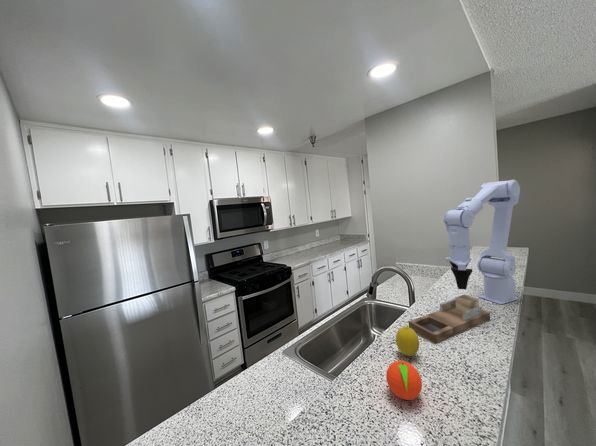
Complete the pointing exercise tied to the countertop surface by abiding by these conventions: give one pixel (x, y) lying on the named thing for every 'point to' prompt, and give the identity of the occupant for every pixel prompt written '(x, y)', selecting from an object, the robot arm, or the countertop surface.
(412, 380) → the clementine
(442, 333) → the board
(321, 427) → the countertop surface
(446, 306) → the channel walls
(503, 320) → the countertop surface
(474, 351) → the countertop surface
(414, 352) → the lemon
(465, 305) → the maple block
